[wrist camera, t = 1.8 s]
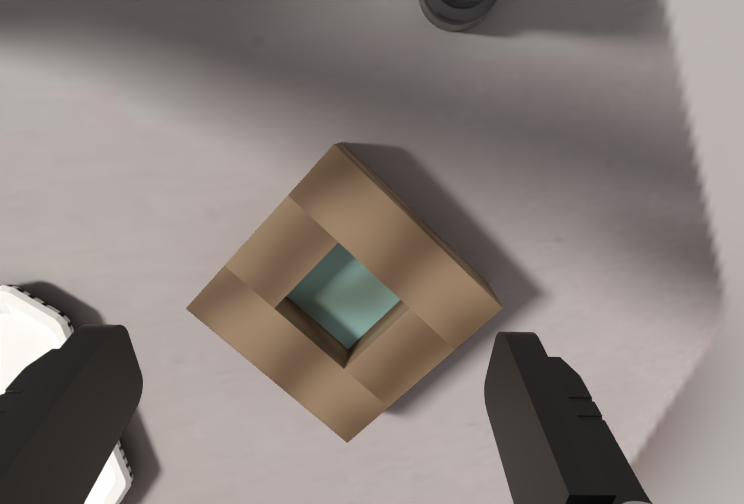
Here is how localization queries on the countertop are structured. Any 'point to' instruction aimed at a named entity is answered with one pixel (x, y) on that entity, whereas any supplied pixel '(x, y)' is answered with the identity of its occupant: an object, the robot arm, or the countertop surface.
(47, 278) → the countertop surface
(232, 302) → the block
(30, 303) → the plate
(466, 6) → the grey cylindrical peg
